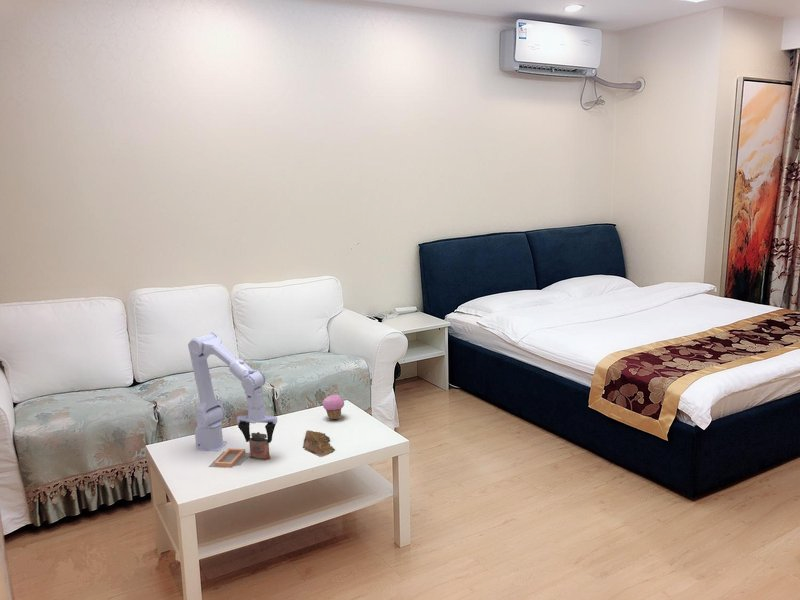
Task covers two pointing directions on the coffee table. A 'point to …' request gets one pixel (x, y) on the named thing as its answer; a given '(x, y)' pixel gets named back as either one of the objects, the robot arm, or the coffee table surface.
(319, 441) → the wooden fragment
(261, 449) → the lighter
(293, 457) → the coffee table surface
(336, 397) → the cupcake
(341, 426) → the coffee table surface
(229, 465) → the holder
